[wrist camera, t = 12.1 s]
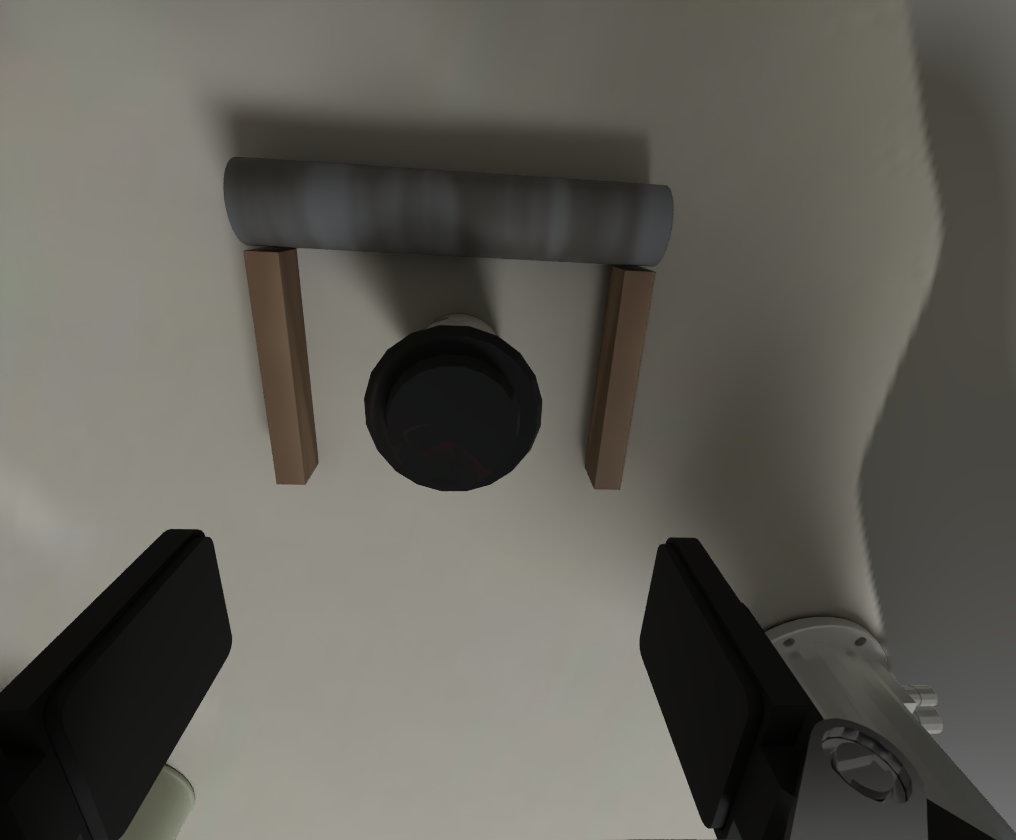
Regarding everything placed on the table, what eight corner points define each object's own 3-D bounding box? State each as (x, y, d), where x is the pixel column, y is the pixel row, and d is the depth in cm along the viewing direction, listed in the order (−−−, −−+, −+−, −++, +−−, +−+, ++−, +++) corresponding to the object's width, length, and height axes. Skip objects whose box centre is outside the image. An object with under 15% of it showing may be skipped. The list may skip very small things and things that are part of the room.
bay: (651, 187, 25) (679, 183, 21) (609, 468, 31) (625, 499, 27) (254, 161, 23) (217, 152, 20) (292, 462, 29) (268, 494, 26)
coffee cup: (403, 278, 25) (364, 316, 16) (535, 304, 26) (568, 353, 17) (389, 403, 28) (347, 496, 19) (509, 422, 29) (526, 520, 20)
